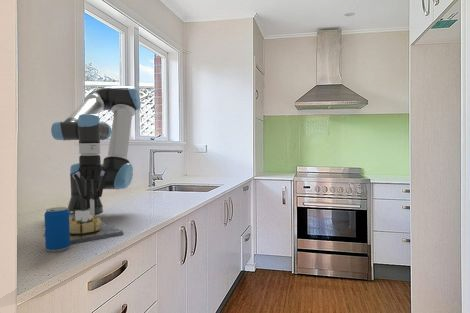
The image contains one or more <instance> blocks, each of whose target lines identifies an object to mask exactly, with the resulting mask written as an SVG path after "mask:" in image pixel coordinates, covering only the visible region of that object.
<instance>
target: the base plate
mask: <svg viewBox="0 0 470 313" xmlns="http://www.w3.org/2000/svg"><path fill="white" fill-rule="evenodd" d="M75 220H80V224H83V223H90V222H91V215H90V210H89V209H83V210H77V211H75ZM122 235H124V231H123V230H121V229H120V228H117V227H116V226H113V225H111V224H109V223H106V222H104V221H101V229H99V230H97V231H93V232H87V233H70V245H73V244H78V243H85V242H91V241H96V240H101V239H108V238H113V237H118V236H122Z"/></svg>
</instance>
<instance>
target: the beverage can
mask: <svg viewBox="0 0 470 313" xmlns="http://www.w3.org/2000/svg"><path fill="white" fill-rule="evenodd" d="M67 208H68V207H64V206H63V207H62V206H61V207H60V206H57V207H51V208H47V209H45V213H44V239H45V244H44V245H45V250H46V251H48V252H49V253H50V252H51V253H58V252H63V251H66V250H68V248H69V247H70V246H71V244H70V225H69V211H68V210H67Z"/></svg>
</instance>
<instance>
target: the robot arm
mask: <svg viewBox="0 0 470 313" xmlns="http://www.w3.org/2000/svg"><path fill="white" fill-rule="evenodd" d="M139 110H141V97H140V93H139V90H138V88H137V87H135V86H105V87H104V86H103V87H100V88H98V89H95V90H94V91H92V92H91V93H89V94H88V95H87V96H86V97H85V98H84V101H83V102H82V104H81V105H79V106H78V107H77V108H76V109H75V110H74V111H73V112H72V113H71V114H70V115H69V116H68V117H66V119H65V120H64V121H55V122H53V123H52V124H51V128H50V132H51V133H50V134H51V137H52V138H53V139H54V140H56V141H78V154H79V156H78V162H79V163H73V164H71V166H70V169H69V171H70V172H69V178H70V180H69V181H70V198H69V202H68V205H67V207H66V208H67V210H68V211H69V212H71V211H74V212H75V211H77V210H83V209H89V210H90V215H93V218H94V217H95V216H96V214H100V213H102V212H104V205H103V204H102V201H101V198H102V196H103V191H104V190H125V189H127V188H128V187H129V186H130V185H131V183H132V180H133V175H134V168H133V165H132V164H131V163H130V162H131V161H130V160H129V159H128V151H129V142H130V135H131V126H132V119H133V118H132V117H133V116H135V115H136V113H137V111H139ZM103 111H111V112H112V113H113V117H112V118H113V119H112V125H110V124H109V123H107V122H104V121H100V116H99V113H101V112H103ZM108 139H109V145H108V152H107V156H105V157H104V158H103V161H102V163H101V155H100V154H101V141H104V140H108Z"/></svg>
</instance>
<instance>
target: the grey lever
mask: <svg viewBox="0 0 470 313" xmlns="http://www.w3.org/2000/svg"><path fill="white" fill-rule="evenodd" d="M101 222H102V219H101V218H100V217H98V216H97V217H93V215H91V222H90V223H83V224H80V220H75V212H74V211H71V212H69V225H70V233H87V232H93V231H97V230H99V229H101Z"/></svg>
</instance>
